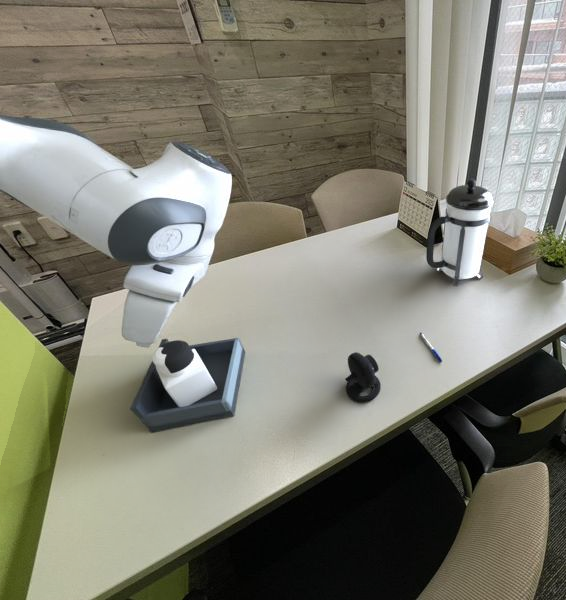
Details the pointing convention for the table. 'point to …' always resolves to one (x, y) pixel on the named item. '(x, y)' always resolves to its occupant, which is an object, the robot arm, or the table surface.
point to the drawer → (217, 405)
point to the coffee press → (462, 232)
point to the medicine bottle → (182, 373)
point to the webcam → (362, 377)
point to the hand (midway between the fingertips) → (155, 324)
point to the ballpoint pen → (431, 347)
